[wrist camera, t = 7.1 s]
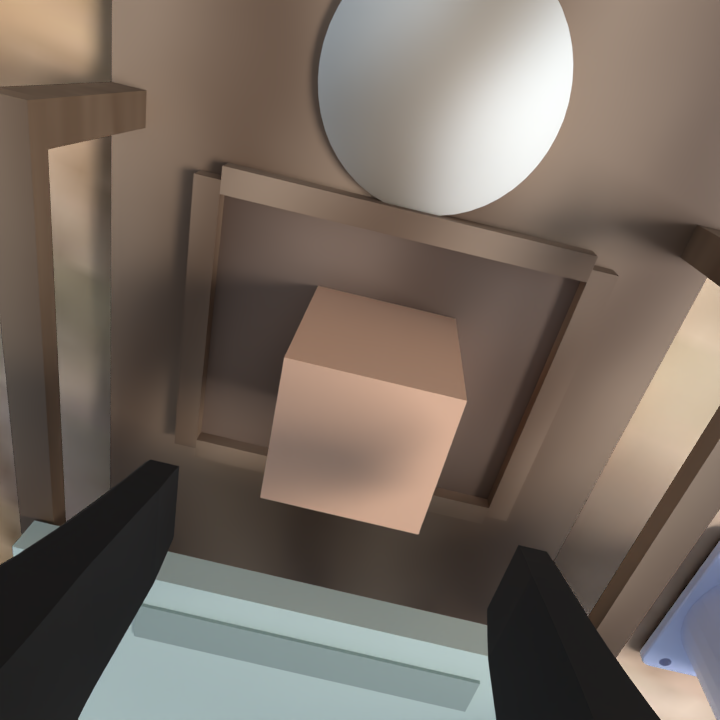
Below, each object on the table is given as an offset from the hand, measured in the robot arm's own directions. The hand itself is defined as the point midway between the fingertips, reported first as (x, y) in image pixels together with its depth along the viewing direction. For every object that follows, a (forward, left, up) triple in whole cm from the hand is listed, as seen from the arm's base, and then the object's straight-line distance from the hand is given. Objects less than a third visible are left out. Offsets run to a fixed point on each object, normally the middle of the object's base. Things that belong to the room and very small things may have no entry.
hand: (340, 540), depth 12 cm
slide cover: (0, +10, -3) cm, 10 cm away
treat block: (0, 0, -8) cm, 8 cm away
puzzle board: (0, +3, -9) cm, 10 cm away
